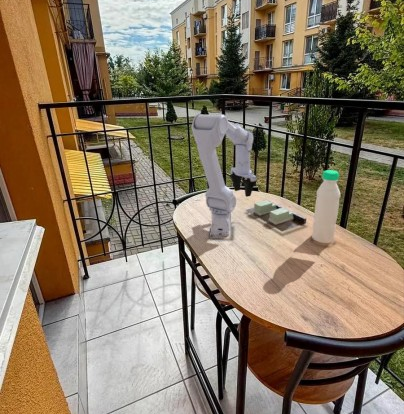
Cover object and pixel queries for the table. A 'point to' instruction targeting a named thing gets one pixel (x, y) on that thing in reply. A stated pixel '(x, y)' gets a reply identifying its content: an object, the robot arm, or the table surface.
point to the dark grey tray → (283, 226)
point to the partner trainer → (264, 207)
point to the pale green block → (280, 216)
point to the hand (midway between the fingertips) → (242, 193)
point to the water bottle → (326, 208)
